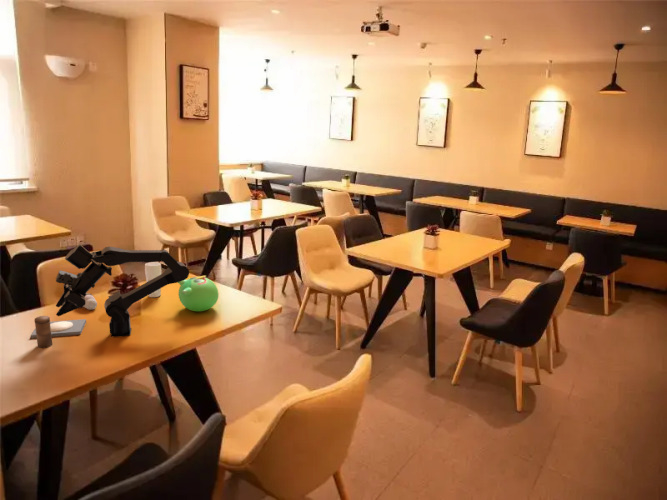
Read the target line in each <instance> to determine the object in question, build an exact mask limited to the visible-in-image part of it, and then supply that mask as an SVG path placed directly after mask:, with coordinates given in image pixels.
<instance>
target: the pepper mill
mask: <svg viewBox="0 0 667 500" xmlns="http://www.w3.org/2000/svg"><path fill="white" fill-rule="evenodd" d="M50 319H51V318H50V316H49V315H40V316H37V317H35V318H34V326H35V328H36V336H37V338H36V343H37V344H36V345H37V348H40V349H44V348H45V349H46V348H49V347H51V346H52V345H53V337H52V336H51V327H50V322H51V320H50ZM35 328H34V329H35Z"/></svg>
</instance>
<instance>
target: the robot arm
mask: <svg viewBox="0 0 667 500" xmlns="http://www.w3.org/2000/svg"><path fill="white" fill-rule="evenodd" d="M64 260H66V262H68V263H70V264H71V265H72V266H74V267H75V268H77V270H78V269H79V270H81V269H82V270H83V269H84V270H83V271H82V272H81V271H80V272H78V273H77V274H75V273H71V272H68V271H63V270H58V273H57V275H56V277H55V283H59V284H63V292H62V294H61V295H60V298H59V299H58V301H57V303H56V304H55V307H57V308H59V309H58V310H57V312H56V314H55V315H56V316H57V317H61V316H64V315H65V314H67V313H70V312H72V311H75V310H77V309H82V308H84V307H83V306H84V305H85V304H86V303H85V296H86V295H87V294H86V293H88V292H89V291H90V290H91V289H94V288H95V286H96V284H97V282H98V281H99V280H100V279H101V278H102V277H103V276H104V275H105V274H107V275H109V276H112V275H113V273H112V270H113V269H112V267H114V266H119V265H123V264H124V265H125V264H127V263H138V262H139V263H149V262H159V263H161V262H162V263H163V264H165V265H166V267H167V268H165V270H164V271H163V272H161V275H159V276H157V277H156V278H154V279H152V280H150V281H148V282H147V281H146V282H145V283H143V284H141V285H139V286H137V287H136V288H134V289H132V290H130V291H128V292H126V293H121V292H120V291H119V290H118V291H117V292H115V293H114V294H111V295H108V298H107V299H106V300H105V301H104V305H103V306H104V311H105V313H106V315H107V316H108V317H109V318H110V321H109V324H108V325H109V334H110V337H111V338H117V337H128V336H131V332H132V326H131V315H130V314H131V313H130V312H129V309H130V307H131V306H132V305H133V304H135V303H137V302H138V301H140V300H142V299H144V298H146V297H149V296H148V295H150V294H151V293H153V292H155V291H157V290H159V289H160V288H161V289H162V288H164V287H166V286H167V285H172V284H178V283H177V282H180V281H183V280H187V279H189V276H190V270H189V268H188V267H187V266H186V264H184V262H182V261H178V260H176V258H174V256H172V254H171V253H170V252H169V251H168V250H167V249H149V250H148V249H144V250H143V249H139V250H138V249H137V250H136V249H134V250H133V249H132V250H131V249H130V250H129V249H124V248H120V247H116V246H115V247H114V246H106V247H103V249H102V250H96V251H93V252H90V251H89V250H87V249H86V248H85V247H84V246H83V245H82V244H78V245H77V246H75V247H74V248H72V249H71V250H70V251H69V252H68V253H67V254H66V256H65V257H64ZM83 296H84V297H83Z"/></svg>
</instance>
